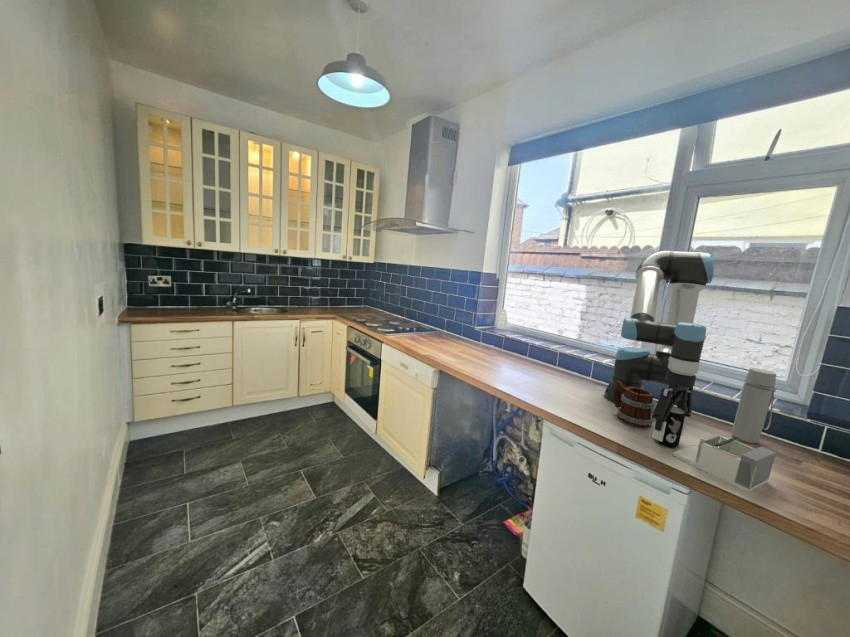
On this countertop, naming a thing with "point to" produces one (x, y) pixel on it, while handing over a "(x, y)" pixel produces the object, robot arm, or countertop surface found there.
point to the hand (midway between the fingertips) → (667, 436)
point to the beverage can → (673, 428)
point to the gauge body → (732, 463)
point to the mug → (634, 405)
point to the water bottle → (754, 405)
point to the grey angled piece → (714, 443)
